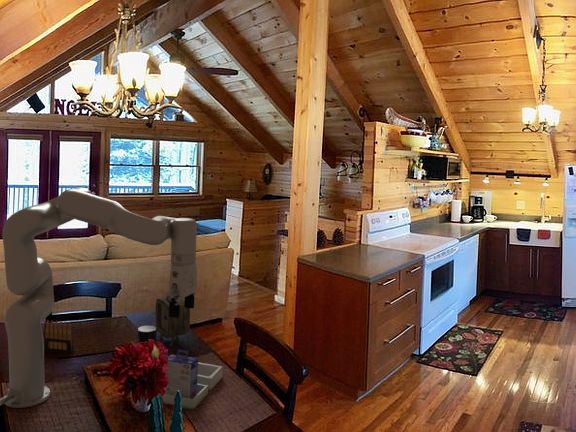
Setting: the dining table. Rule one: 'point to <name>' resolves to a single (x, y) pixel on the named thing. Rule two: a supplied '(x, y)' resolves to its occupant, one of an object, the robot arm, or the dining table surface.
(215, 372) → the tray
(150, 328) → the ink bottle
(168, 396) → the parts tray
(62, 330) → the ammunition clip
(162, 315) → the ring-top lantern
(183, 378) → the ink cartridge box
